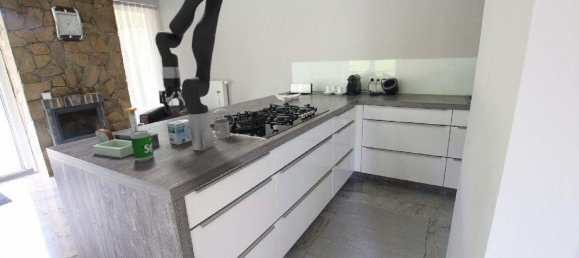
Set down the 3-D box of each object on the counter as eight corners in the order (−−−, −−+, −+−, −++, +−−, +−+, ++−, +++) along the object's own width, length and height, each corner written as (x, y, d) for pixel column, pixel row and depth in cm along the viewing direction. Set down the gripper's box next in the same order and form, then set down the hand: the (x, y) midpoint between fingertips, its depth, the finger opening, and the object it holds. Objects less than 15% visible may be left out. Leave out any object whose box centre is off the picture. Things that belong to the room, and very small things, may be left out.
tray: (142, 149, 133) (140, 142, 132) (121, 157, 123) (119, 149, 122) (116, 146, 140) (114, 139, 139) (94, 153, 130) (92, 145, 129)
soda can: (141, 163, 115) (136, 135, 112) (131, 160, 119) (126, 133, 116) (157, 157, 122) (153, 131, 119) (147, 154, 126) (143, 129, 123)
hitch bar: (159, 145, 140) (157, 133, 138) (147, 149, 134) (145, 137, 132) (128, 141, 148) (126, 130, 147) (116, 145, 142) (114, 134, 140)
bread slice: (116, 146, 141) (113, 130, 139) (109, 147, 139) (106, 131, 137) (102, 142, 149) (99, 127, 147) (96, 143, 147) (92, 128, 145)
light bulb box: (178, 145, 139) (175, 124, 136) (169, 143, 142) (166, 123, 139) (194, 139, 148) (192, 119, 145) (186, 138, 151) (183, 118, 148)
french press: (215, 134, 156) (210, 90, 150) (235, 132, 158) (231, 88, 151) (212, 139, 147) (207, 92, 141) (234, 137, 148) (230, 90, 142)
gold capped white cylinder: (145, 144, 142) (138, 107, 137) (137, 147, 138) (130, 109, 133) (138, 143, 144) (131, 107, 139) (130, 146, 140) (123, 109, 135)
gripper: (164, 78, 121) (168, 114, 125) (188, 76, 134) (191, 109, 138) (152, 77, 124) (156, 112, 128) (177, 75, 137) (180, 108, 141)
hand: (174, 111), depth 133 cm, fingers open, 8 cm apart
